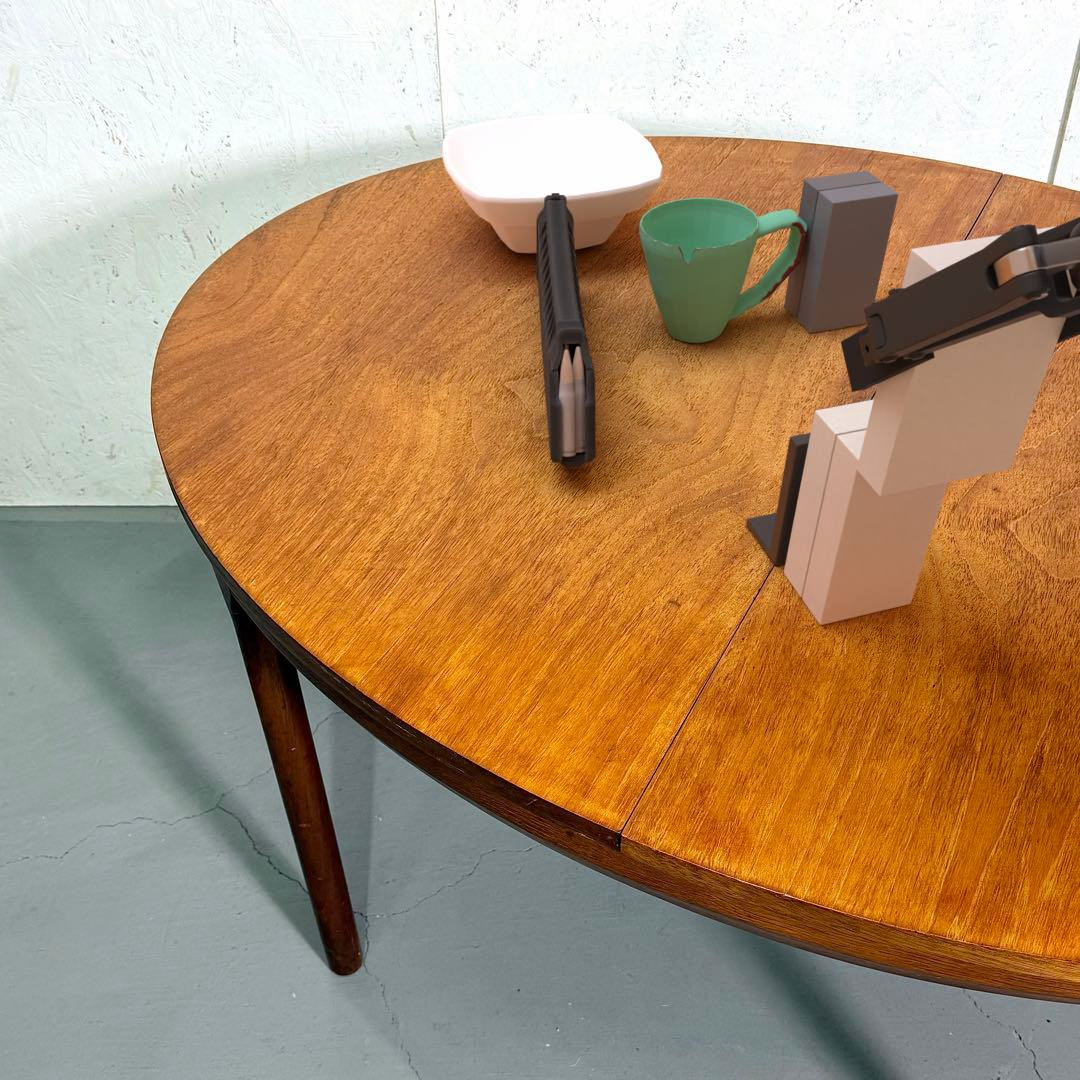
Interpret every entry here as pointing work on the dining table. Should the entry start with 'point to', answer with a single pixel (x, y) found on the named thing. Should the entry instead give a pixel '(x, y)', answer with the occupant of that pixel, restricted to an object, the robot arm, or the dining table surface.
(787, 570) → the white books
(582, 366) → the magazine
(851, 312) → the grey books
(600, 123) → the bowl
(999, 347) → the thin book
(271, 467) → the dining table surface
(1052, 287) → the robot arm
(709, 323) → the mug
